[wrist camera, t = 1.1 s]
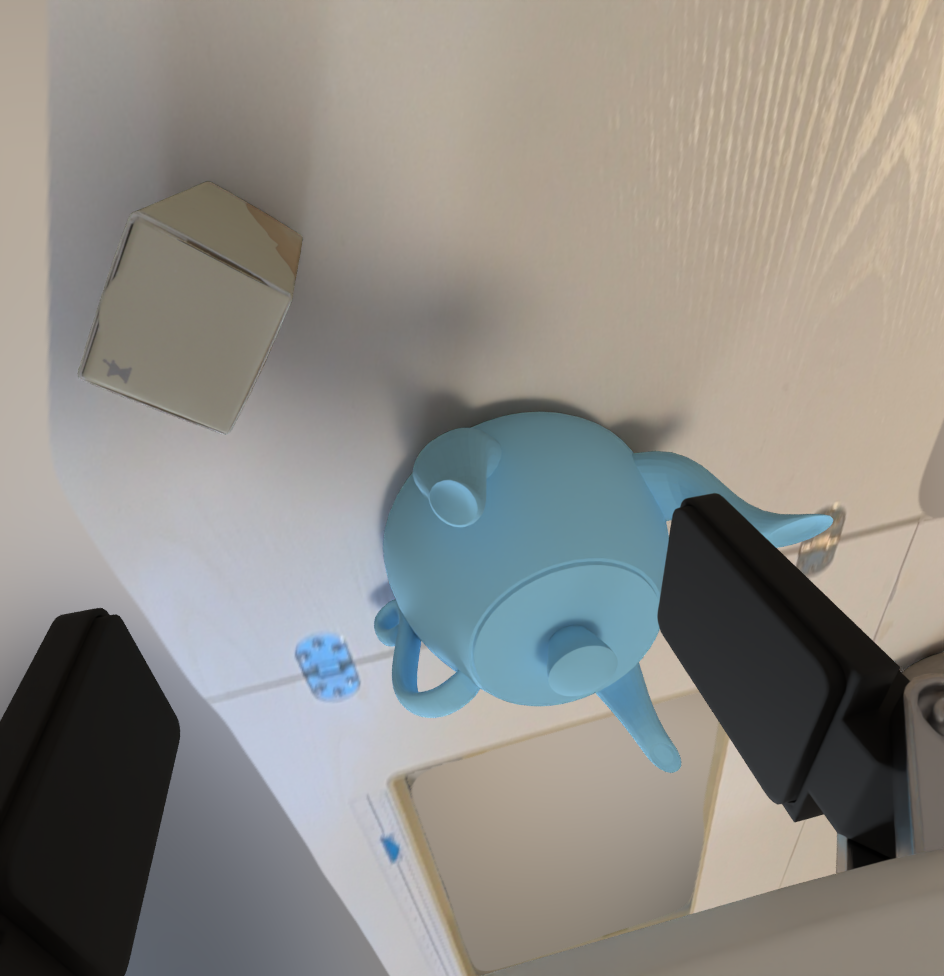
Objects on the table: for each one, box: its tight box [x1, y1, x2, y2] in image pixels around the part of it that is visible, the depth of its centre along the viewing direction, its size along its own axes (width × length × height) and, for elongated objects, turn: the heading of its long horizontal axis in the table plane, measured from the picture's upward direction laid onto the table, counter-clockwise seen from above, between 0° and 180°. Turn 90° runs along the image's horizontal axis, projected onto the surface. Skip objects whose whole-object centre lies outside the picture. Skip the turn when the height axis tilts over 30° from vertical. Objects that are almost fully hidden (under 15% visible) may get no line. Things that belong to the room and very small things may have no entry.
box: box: [78, 181, 303, 435], centre depth 21 cm, size 5×4×11 cm
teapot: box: [374, 412, 833, 773], centre depth 31 cm, size 17×19×12 cm
